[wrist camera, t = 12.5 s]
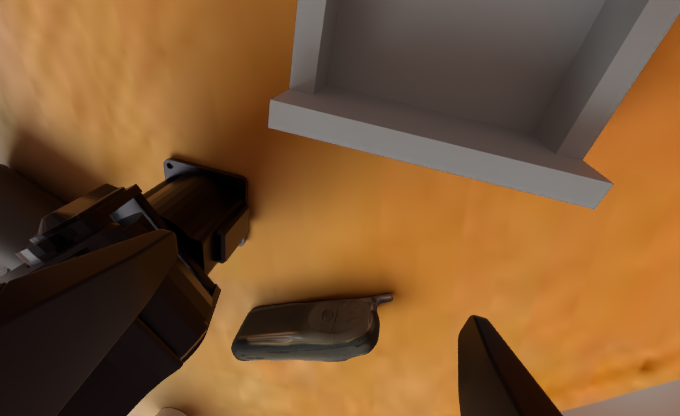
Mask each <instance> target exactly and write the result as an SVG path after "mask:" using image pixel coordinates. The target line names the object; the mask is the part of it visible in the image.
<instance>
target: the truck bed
mask: <svg viewBox="0 0 680 416" xmlns="http://www.w3.org/2000/svg"><path fill="white" fill-rule="evenodd" d="M679 14H680V0H298V4H297V14H296V24H295V34H294V45H293V55H292V65H291V75H290V86H289V89H288V90H286V91H285V92H283V93H281V94H279V95H277V96H275V97H274V98H272V99H270V106H269V121H268V128H272V129H276V130H280V131H284V132H288V133H292V134H296V135H300V136H304V137H308V138H311V139H315V140H319V141H323V142H327V143H331V144H335V145H339V146H343V147H347V148H351V149H355V150H359V151H363V152H367V153H371V154H375V155H379V156H383V157H387V158H391V159H395V160H399V161H403V162H407V163H411V164H415V165H419V166H423V167H427V168H431V169H435V170H439V171H443V172H447V173H451V174H455V175H459V176H463V177H467V178H471V179H475V180H479V181H483V182H487V183H491V184H495V185H499V186H503V187H507V188H511V189H515V190H519V191H523V192H527V193H531V194H535V195H539V196H543V197H547V198H551V199H555V200H559V201H563V202H567V203H571V204H575V205H579V206H583V207H587V208H591V209H595V208H596V207H597V206H598V204H599V203H600V202H601V200H602V199H603V198H604V196H605V195H606V194H607V192H608V191H609V190H610V188H611V187H612V186H613V183H612V182H611V181H609V180H608V179H607V178H605V177H604V176H603V175H601V174H600V173H599V172H597V171H596V170H595V169H593V168H592V167H591V166H589V165H588V164H587V163H585V162H584V161H583V159H584V157H585V156H586V154H587V153H588V151H589V150H590V148H591V147H592V145H593V144H594V142H595V141H596V139H597V137H598V136H599V134H600V133H601V131H602V130H603V128H604V127H605V125H606V124H607V122H608V121H609V119H610V118H611V116H612V115H613V113H614V112H615V110H616V109H617V107H618V106H619V104H620V103H621V101H622V100H623V98H624V97H625V95H626V94H627V92H628V91H629V89H630V88H631V86H632V85H633V83H634V82H635V80H636V79H637V77H638V76H639V74H640V73H641V71H642V70H643V68H644V67H645V65H646V64H647V62H648V61H649V59H650V58H651V56H652V55H653V53H654V51H655V50H656V48H657V47H658V45H659V44H660V42H661V41H662V39H663V38H664V36H665V35H666V33H667V32H668V30H669V29H670V27H671V26H672V24H673V23H674V21H675V20H676V18H677V17H678V15H679Z"/></svg>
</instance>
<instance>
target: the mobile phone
mask: <svg viewBox="0 0 680 416" xmlns="http://www.w3.org/2000/svg"><path fill="white" fill-rule="evenodd" d="M392 300H393V297H392V295H391V294H385V295H378V296H372V297H365V298H358V299H344V300H328V301H318V302H310V303H290V304H279V305H268V306H261V307H257V308H254V309H252V310H251V311H250V312H249V313H248V315H247V316H246V318H245V320H244V322H243V324H242V325H241V327H240V329H239V331H238V333H237V335H236V337H235V339H234V341H233V343H232V347H231V350H232V353H233V355H234V356H235V357H236V359H238V360H241V361H250V360H272V361H279V360H306V361H323V362H339V361H346V360H348V359H350V358H353V357H356V356H360V355H365V354H367V353H369V352H370V351H371V350H372V349H373V348H374V347H375V345H376V344H377V341H378V337H379V328H380V322H379V317H378V314H377V307H378V305H379V304H381V303H386V302H391V301H392Z"/></svg>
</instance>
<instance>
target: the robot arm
mask: <svg viewBox="0 0 680 416" xmlns="http://www.w3.org/2000/svg"><path fill="white" fill-rule="evenodd" d="M170 163H171V164H172V165H173V166H171V164H170ZM164 172H165V181H163V182H162V183H160V184H159V185H157V186H155V187H154V188H152V189H151V190H149V191H148V192H146V193H145V194H142V193H141V192H142V190H141V189H140V188H139V187H138V185H137V184H135V185H133V186H130V187H128V188H126V189H125V188H124V187H121V188H116V187H114V186H111V185H109V184H104V185H102V186H100V187H99V188H97V189H95V190H93V191H91V192H89V193H87V194H85V195H83V196H82V197H80V198H78V199H76V200H74V201H72V202H70V203H69V204H67V205H65V206H63V207H61V208H60V209H58V210H56V211H54V212H52V213H51V214H49V215H47V216H45V217H43V218H42V219H41V223H40V227H39V231H38V234H36V235H35V236H33V237H32V238H31V239H29V240H30V241H31V242H30V243H28V244H27V245H25V246H24V247H23V248H21V249H20V250H18V251H17V252H16V253H15V254H16V255H17V256H18V257H19V258H21V259H22V260H23V261H24V262H25V263H24V264H22V265H20V266H18V267H17V268H15V269H13V270H12V271H10V272H8V273H7V274H5V275H3V276H2V277H0V416H127V415H128V414H129V413H130V411H131V410H132V409H133V408H134V407H135V406H136V405H137V404H138V403H139V402H140V401H141V400H142V399H143V398H144V397H145V396H146V395H147V394H148V393H149V392H150V391H151V390H152V389H154V388H155V387H156V386H157V385H158V384H159V383H160V382H162V381H163V380H164V379H165V378H167V377H168V376H170V375H171V374H173V373H174V372H175V371H177V370H178V369H180V368H181V367H182V365H183V363H184V362H185V361H186V360H187V359H188V358H189V357H190V356H191V355H192V354H193V353H194V352H195V351H196V350H197V348H198V347H199V346H200V344H201V343H202V341H203V340H204V337H205V335H206V333H207V330H208V327H209V324H210V321H211V318H212V315H213V312H214V309H215V307H216V304H217V301H218V298H219V295H220V292H221V289H220V288H219V287H218V285H217V284H214V283H213V282H212V280H211V279H210V278H209V277H208V274H209V273H210V272H211V270H212V269H213V268H214V267H215V265H216V264H217V263H218V262H219V263H224V262H226V261H227V260H228V258H229V257H230V256H231V254H232V253H233V252H234V250H235V249H236V248H237V246H243V245H244V243H245V242H246V235H247V233H248V232H249V220H250V206H249V204H248V203H247V202H248V181H247V179H246V178H245V177H243V176H240V175H236V174H232V173H228V172H225V171H221V170H217V169H213V168H209V167H205V166H202V165H198V164H194V163H190V162H186V161H182V160H179V159H175V158H168V159H167V160H165V161H164ZM239 181H240V182H242V184H243V185H241V184H240V183H239ZM458 391H459V404H460V412H461V416H563V415H562V414H561V412H560V411H559V410H558V409H557V407H556V406H555V405H554V404H553V402H552V401H551V400H550V398H549V397H548V396H547V395H546V393H545V392H544V391H543V389H542V388H541V387H540V386H539V384H538V383H537V382H536V381H535V379H534V378H533V377H532V375H531V374H530V373H529V372H528V370H527V369H526V368H525V366H524V365H523V364H522V363H521V361H520V360H519V359H518V358H517V356H516V355H515V354H514V352H513V351H512V350H511V349H510V347H509V346H508V345H507V343H506V342H505V341H504V340H503V338H502V337H501V336H500V335H499V333H498V332H497V331H496V329H495V328H494V327H493V326H492V324H491V323H490V322H489V321H488V320H487V319H486V318H484V317H480V316H476V315H471V316H470V317H469V318H468V320H467V321H466V323H465V325H464V326H463V328H462V329H461V331H460V333H459V337H458Z"/></svg>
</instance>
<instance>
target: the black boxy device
mask: <svg viewBox="0 0 680 416" xmlns="http://www.w3.org/2000/svg"><path fill="white" fill-rule="evenodd" d="M65 205H67V204H66V203H64V202H62V201H61V200H59V199H58V198H56V197H55V196H53V195H51V194H50V193H48V192H47V191H45V190H44V189H42V188H41V187H39V186H37V185H36V184H34V183H33V182H31V181H30V180H28V179H26V178H25V177H23V176H22V175H20V174H19V173H17V172H16V171H14V170H12V169H11V168H9V167H7V166H5V165H3V164H0V277H2V276H3V275H5V274H7V273H8V272H10V271H12V270H13V269H15V268H17V267H18V266H20V265H22V264H24V263H25V262H24V261H23V260H22V259H21V258H19V257H18V256H17V255H16V254H15V253H16V252H17V251H18V250H20V249H21V248H23V247H24V246H25V245H27V244H28V243H30V242H31V241H30V240H29V239H31V238H32V237H33V236H35V235H36V234H38V231H39V227H40V223H41V219H42V218H43V217H45V216H47V215H49V214H51V213H52V212H54V211H56V210H58V209H60V208H61V207H63V206H65Z"/></svg>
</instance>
